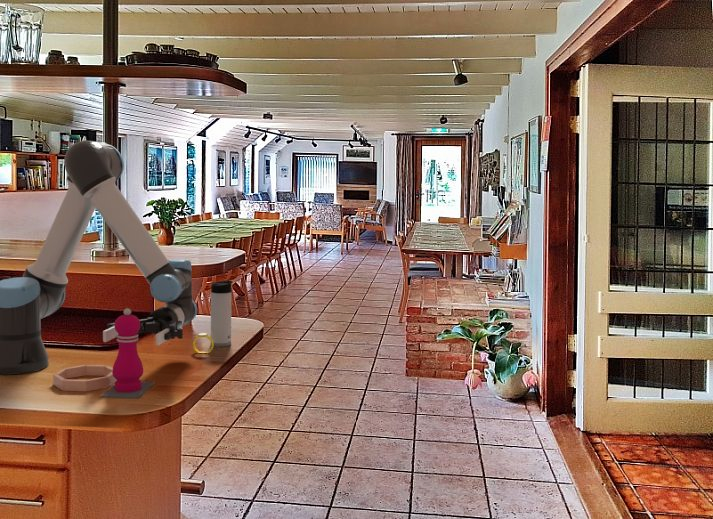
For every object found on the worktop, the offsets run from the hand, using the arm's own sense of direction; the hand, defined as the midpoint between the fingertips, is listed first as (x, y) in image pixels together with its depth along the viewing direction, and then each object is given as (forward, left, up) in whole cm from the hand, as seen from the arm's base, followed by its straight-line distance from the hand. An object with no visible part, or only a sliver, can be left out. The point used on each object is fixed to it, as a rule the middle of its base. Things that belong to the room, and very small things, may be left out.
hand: (130, 338), depth 172 cm
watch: (+9, +36, -13) cm, 39 cm away
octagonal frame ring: (-13, +4, -13) cm, 18 cm away
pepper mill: (0, -1, -12) cm, 13 cm away
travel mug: (+12, +47, -13) cm, 50 cm away
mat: (0, -1, -13) cm, 13 cm away
